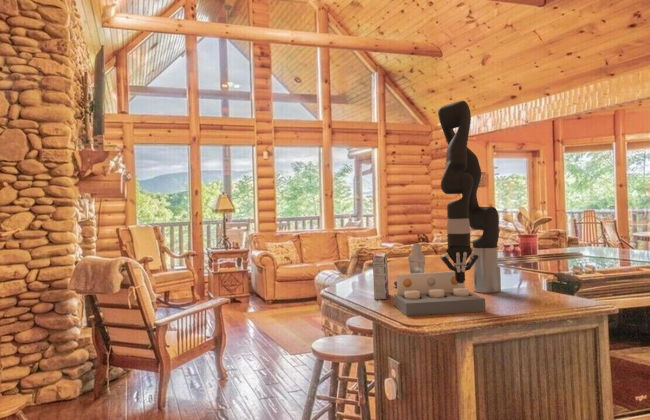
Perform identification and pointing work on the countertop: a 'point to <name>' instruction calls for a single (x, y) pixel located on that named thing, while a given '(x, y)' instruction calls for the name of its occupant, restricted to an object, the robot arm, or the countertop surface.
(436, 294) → the button middle
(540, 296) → the countertop surface
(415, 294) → the button
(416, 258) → the metal water bottle
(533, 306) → the countertop surface
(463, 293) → the button
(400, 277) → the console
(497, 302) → the countertop surface
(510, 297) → the countertop surface
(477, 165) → the robot arm
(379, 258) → the candy bar box
